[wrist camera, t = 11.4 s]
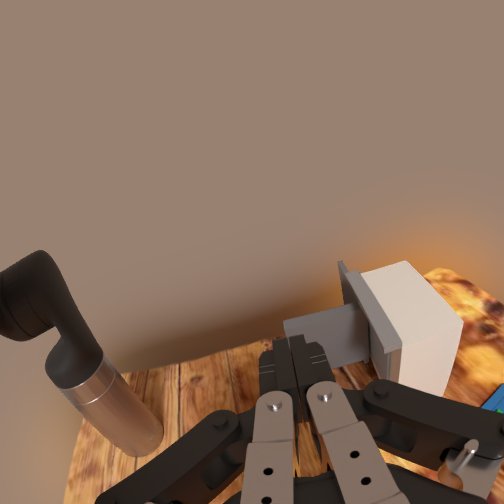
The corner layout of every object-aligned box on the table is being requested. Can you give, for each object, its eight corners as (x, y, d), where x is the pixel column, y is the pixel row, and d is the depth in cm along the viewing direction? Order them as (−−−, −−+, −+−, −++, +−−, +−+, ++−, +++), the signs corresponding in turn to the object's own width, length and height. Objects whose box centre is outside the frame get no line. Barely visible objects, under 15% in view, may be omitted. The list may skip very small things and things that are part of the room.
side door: (299, 380, 39) (282, 324, 35) (292, 330, 51) (277, 277, 47) (369, 362, 37) (366, 301, 33) (349, 315, 49) (341, 260, 45)
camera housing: (379, 420, 28) (384, 348, 23) (350, 339, 45) (341, 267, 39) (442, 395, 27) (464, 316, 21) (401, 323, 43) (400, 250, 38)
